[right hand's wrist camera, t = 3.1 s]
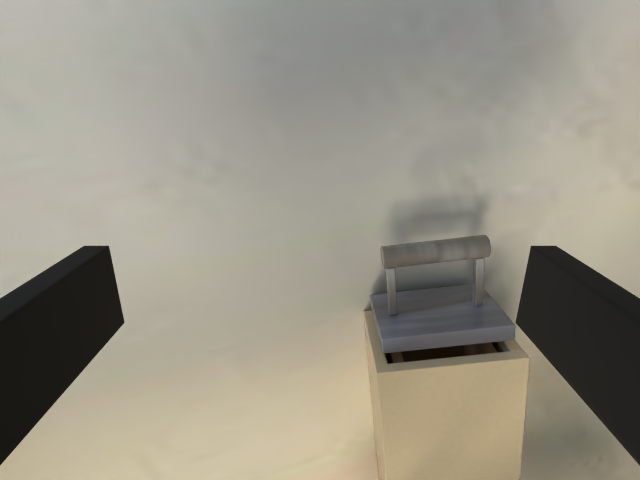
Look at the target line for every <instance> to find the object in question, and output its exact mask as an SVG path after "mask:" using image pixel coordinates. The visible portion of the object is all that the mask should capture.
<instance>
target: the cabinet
mask: <svg viewBox="0 0 640 480" xmlns="http://www.w3.org/2000/svg"><path fill="white" fill-rule="evenodd" d="M364 323H365V334H366V345H367V356H368V367H369V378H370V388H371V399H372V410H373V421H374V432H375V443H376V454H377V464H378V475H379V480H520V472H521V460H522V447H523V435H524V422H525V410H526V398H527V385H528V373H529V360H530V358H529V356H528V355H527V354H526V353H525V351H524V350H523V349H522V348H521V347H520V346H519V344H518V343H517V342H516V341H515V340H508V341H498V342H491V343H492V345H493V346H494V348H495V349H496V350H497V352H498V353H489V354H479V355H470V356H460V357H450V358H441V359H431V360H421V361H411V362H402V363H392V364H387V360H386V356H385V353H383V352H382V348H381V344H380V340H379V336H378V332H377V329H376V325H375V321H374V317H373V313H372V310H369V311H364Z"/></svg>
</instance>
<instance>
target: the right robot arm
mask: <svg viewBox="0 0 640 480" xmlns="http://www.w3.org/2000/svg"><path fill="white" fill-rule="evenodd" d="M123 324H124V318H123V313H122V308H121V303H120V299H119V294H118V289H117V284H116V279H115V274H114V269H113V264H112V259H111V254H110V249H109V246H83V247H82V248H80V249H78V250H77V251H75V252H74V253H72V254H71V255H69V256H67V257H66V258H64V259H63V260H61V261H59V262H58V263H56V264H55V265H53V266H51V267H50V268H48V269H47V270H45V271H43V272H42V273H40V274H39V275H37V276H36V277H34V278H32V279H31V280H29V281H28V282H26V283H24V284H23V285H21V286H20V287H18V288H16V289H15V290H13V291H12V292H10V293H8V294H7V295H5V296H4V297H2V298H0V465H1V464H2V463H3V462H4V460H5V459H6V458H7V457H8V456H9V455H10V453H11V452H12V451H13V450H14V449H15V448H16V447H17V445H18V444H19V443H20V442H21V441H22V440H23V439H24V437H25V436H26V435H27V434H28V433H29V432H30V430H31V429H32V428H33V427H34V426H35V425H36V424H37V422H38V421H39V420H40V419H41V418H42V417H43V416H44V414H45V413H46V412H47V411H48V410H49V409H50V408H51V406H52V405H53V404H54V403H55V402H56V401H57V399H58V398H59V397H60V396H61V395H62V394H63V393H64V391H65V390H66V389H67V388H68V387H69V386H70V385H71V383H72V382H73V381H74V380H75V379H76V378H77V376H78V375H79V374H80V373H81V372H82V371H83V370H84V368H85V367H86V366H87V365H88V364H89V363H90V362H91V360H92V359H93V358H94V357H95V356H96V355H97V353H98V352H99V351H100V350H101V349H102V348H103V347H104V345H105V344H106V343H107V342H108V341H109V340H110V339H111V337H112V336H113V335H114V334H115V333H116V332H117V331H118V329H119V328H120V327H121V326H122V325H123ZM516 324H517V325H518V326H519V327H520V328H521V329H522V331H523V332H524V333H525V334H526V335H527V336H528V337H529V339H530V340H531V341H532V342H533V343H534V344H535V345H536V347H537V348H538V349H539V350H540V351H541V352H542V353H543V355H544V356H545V357H546V358H547V359H548V360H549V362H550V363H551V364H552V365H553V366H554V367H555V368H556V370H557V371H558V372H559V373H560V374H561V375H562V376H563V378H564V379H565V380H566V381H567V382H568V383H569V385H570V386H571V387H572V388H573V389H574V390H575V391H576V393H577V394H578V395H579V396H580V397H581V398H582V399H583V401H584V402H585V403H586V404H587V405H588V406H589V408H590V409H591V410H592V411H593V412H594V413H595V414H596V416H597V417H598V418H599V419H600V420H601V421H602V422H603V424H604V425H605V426H606V427H607V428H608V429H609V430H610V432H611V433H612V434H613V435H614V436H615V437H616V439H617V440H618V441H619V442H620V443H621V444H622V445H623V447H624V448H625V449H626V450H627V451H628V452H629V453H630V455H631V456H632V457H633V458H634V459H635V460H636V462H637V463H638V464H639V465H640V298H638V297H636V296H635V295H633V294H632V293H630V292H628V291H627V290H625V289H624V288H622V287H620V286H619V285H617V284H616V283H614V282H612V281H611V280H609V279H608V278H606V277H604V276H603V275H601V274H600V273H598V272H597V271H595V270H593V269H592V268H590V267H589V266H587V265H585V264H584V263H582V262H581V261H579V260H577V259H576V258H574V257H573V256H571V255H569V254H568V253H566V252H565V251H563V250H562V249H560V248H558V247H557V246H531V249H530V254H529V259H528V264H527V269H526V274H525V279H524V284H523V289H522V294H521V299H520V303H519V308H518V313H517V318H516Z"/></svg>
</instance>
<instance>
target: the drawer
mask: <svg viewBox="0 0 640 480" xmlns="http://www.w3.org/2000/svg"><path fill="white" fill-rule="evenodd" d="M490 253H491V245H490V241H489V239H488V237H487V236H486V235H479V236H471V237H462V238H453V239H444V240H435V241H426V242H418V243H409V244H400V245H391V246H382V247H381V260H382V265H383V268H386V283H387V293H383V294H374V295H370V302H371V309H372V313H373V317H374V321H375V325H376V329H377V332H378V336H379V340H380V344H381V348H382V352H383V353H385V356H386V360H387V364H392V363H402V362H411V361H421V360H431V359H441V358H450V357H460V356H470V355H479V354H489V353H498V352H497V350H496V349H495V348H494V346H493V345H492V343H491V342H498V341H508V340H514V339H515V324H514V323H513V322H512V321H511V319H510V318H509V317H508V316H507V315H506V314H505V313H504V311H503V310H502V309H501V308H500V307H499V306H498V305H497V304H496V302H495V301H494V300H493V299H492V298H491V297H490V296H489V294H488V293H487V292H486V291H485V290H484V257H489V255H490ZM465 259H473V284H466V285H457V286H448V287H438V288H429V289H420V290H411V291H402V292H396V278H395V268H394V267H402V266H411V265H420V264H429V263H438V262H447V261H456V260H465Z"/></svg>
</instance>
